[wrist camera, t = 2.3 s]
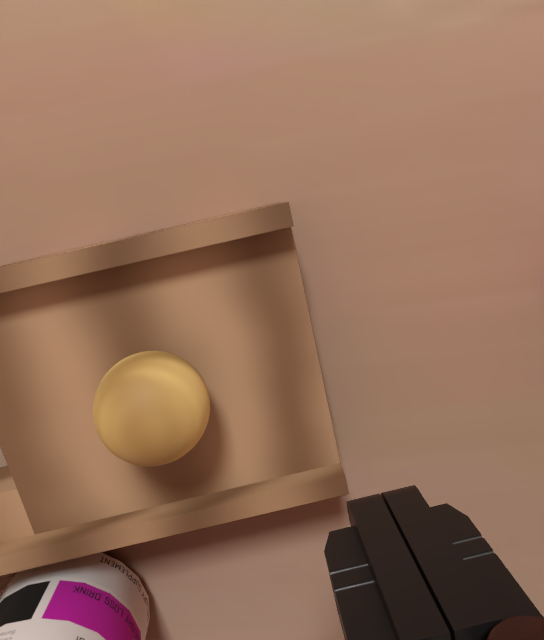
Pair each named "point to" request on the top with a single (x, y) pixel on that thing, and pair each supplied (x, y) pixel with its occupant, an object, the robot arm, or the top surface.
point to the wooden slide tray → (176, 338)
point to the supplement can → (75, 602)
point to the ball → (151, 408)
